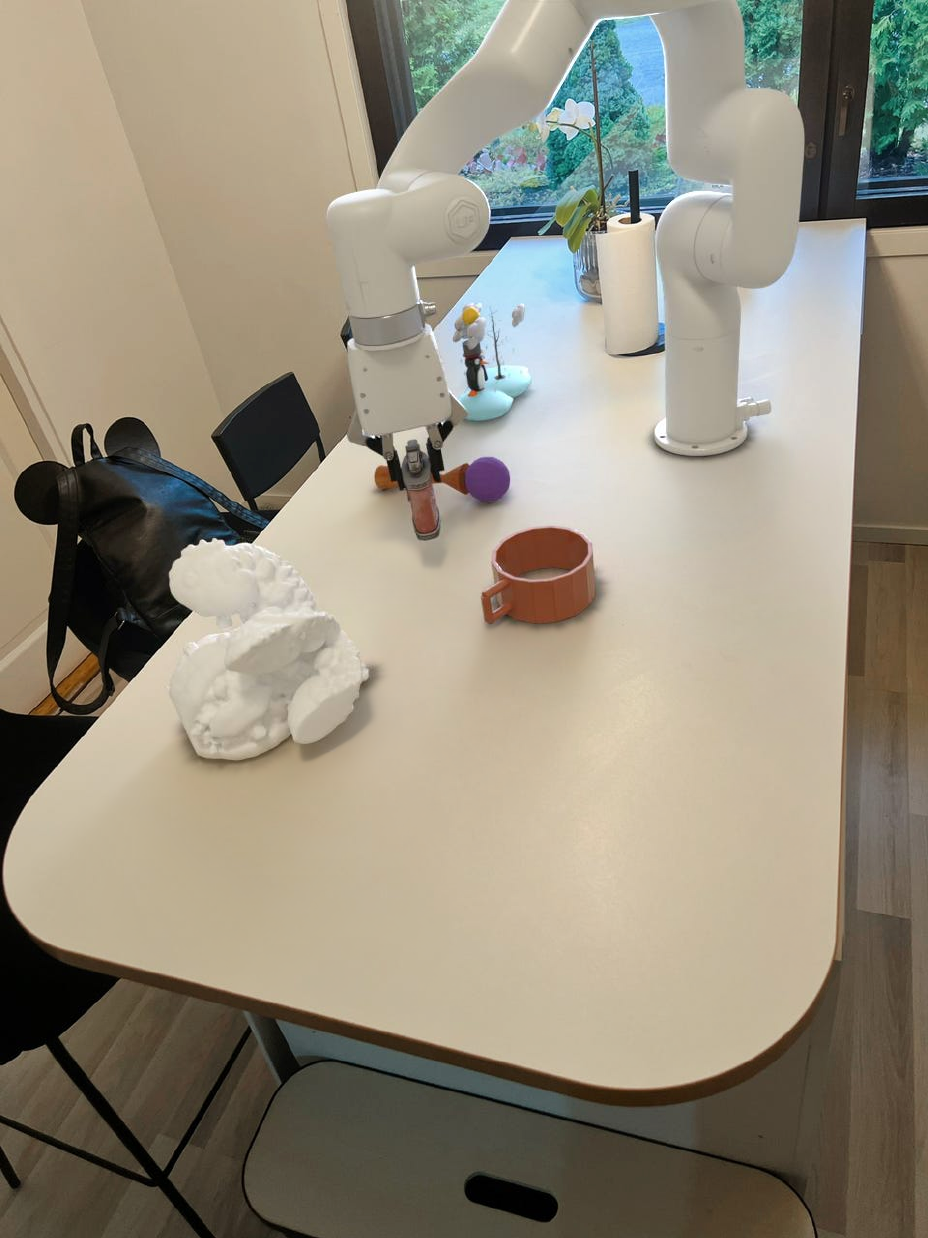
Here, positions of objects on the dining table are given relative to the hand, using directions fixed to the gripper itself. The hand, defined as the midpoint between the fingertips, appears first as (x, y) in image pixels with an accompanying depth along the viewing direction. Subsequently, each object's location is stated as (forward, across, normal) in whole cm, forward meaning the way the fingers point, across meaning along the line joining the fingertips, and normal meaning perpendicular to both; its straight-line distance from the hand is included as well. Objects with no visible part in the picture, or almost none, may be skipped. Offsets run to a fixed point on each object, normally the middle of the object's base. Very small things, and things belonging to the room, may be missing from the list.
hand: (418, 479), depth 101 cm
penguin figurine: (+11, -17, -44) cm, 49 cm away
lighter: (+6, 0, 0) cm, 6 cm away
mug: (+11, -9, +13) cm, 19 cm away
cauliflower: (+11, +19, +22) cm, 31 cm away
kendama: (+11, -4, -16) cm, 20 cm away
